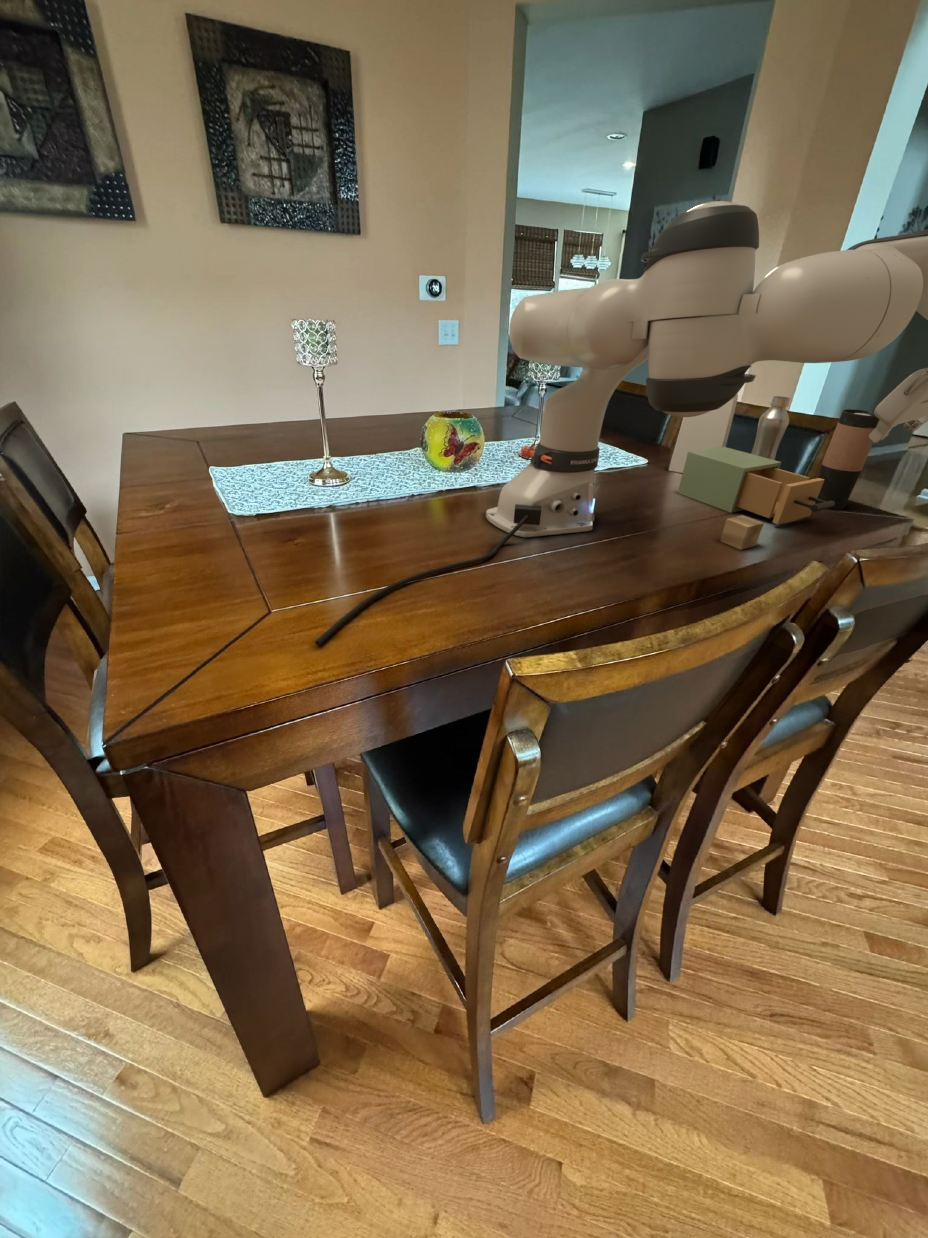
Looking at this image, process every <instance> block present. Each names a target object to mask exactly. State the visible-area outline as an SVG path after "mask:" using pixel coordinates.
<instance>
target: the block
mask: <svg viewBox="0 0 928 1238" xmlns="http://www.w3.org/2000/svg"><path fill="white" fill-rule="evenodd" d="M763 527H764V523H763V522H762V521H759V520H756V519H754V518H751V517H749V516H745V515H743V514H741V515H738V516H733V517H729V518H726V521H725V524H724V527H723V529H722V533H721V537H720V539H719V542H721V543H723V544H726V545H728V546H730V547H733V548H735V549H737V550H739V551H742V550H744V549H749V548H753V547H756V546H757V543H758V542H759V541H758V540H759V537H760V535H761V532H762V529H763Z"/></svg>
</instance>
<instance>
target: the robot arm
mask: <svg viewBox="0 0 928 1238" xmlns="http://www.w3.org/2000/svg"><path fill="white" fill-rule="evenodd" d="M759 248H760V227H759V220H758V214H757V213H756V212H755V211H754V210H753V209H751V208H750V206H747V205H745V204H744V205H743V204H738V203H735V202H731V201H727V200H715V201H708V202H705V203H702V204H699V205H696V206H694V207H693V208H690V209H689V210H687V211H685V212H683V213H680V214H678V215H677V216H675V217H674V218H673V219H672V220H671V221H670V222H669V223H668V224H667V226H666V227H665V228H664V229H663V230H662V231H661V232H660V233H659V234H658V236H657V238H656V240H655V242H654V244H653V245H652V248H651V250H650V251H646V252H644V253H643V254H642V256H641V258H640V262H642V263H645V264H646V265H645V267H644V269H643V272H644V273H643V274H642V275H641V276H640V277H639V278H631V279H628V278H627V279H626V278H611V279H606V280H603V281H600V282H598V283H596V284H593V285H591V286H590V287H581V288H569V289H565V290H557V291H552V292H546V293H540V294H534V295H529V296H524V297H523V298H522V299H521V300H520V301H519V302H518V303H517V304H516V307H515V308H514V310H513V312H512V314H511V317H510V321H509V327H508V333H509V336H508V337H509V341H510V345H511V347H512V350H513V352H514V353H515V354H516V356H517V357H518V358H519V359H521V360H524V361H528V362H531V363H536V364H541V365H544V366H545V365H546V366H555V367H570V368H582V369H581V371H580V374H579V375H578V377H577V379H576V380H574V381H573V382H571V383H569V384H567V385H565V386H562V387H561V388H558V389H557V390H555V391H554V392H552V393H551V394H550V395H549V396H548V397H547V399H546V400H545V402H544V405H543V411H542V419H541V428H540V429H541V430H540V437H539V441H538V442H537V444H536V447H535V448H533V447H530V446H529V445H523V446H522V448H521V450H520V452H521V453H520V454H521V456H522V457H525V458H527V459H530V463H529V464H528V465H527V466H525V467H524V468H523V469H522V470H521V471H520V472H518V473H517V475H515V476H514V477H513V478H512V479H510V480H509V481H508V482H506V484H505V485H503V486H502V487H501V491H500V494H499V497H498V501H497V506H495V507H492V508H488V509H486V512H485V519H487V521H488V522H489V523H491V524H492V525H493V526H495V527H497V528H498V529H500V530H502V531H503V532H506V533H507V534H506V535H505V536H504V537H503V538H502V539H501V540H500V541H499V542H498V543H497V545H496V546H494V548H493V549H492V550H491V551H489V553H487V554H485V555H482V556H479V557H476V558H472V559H468V560H463V561H458V562H454V563H450V564H447V565H443V566H439V567H436V568H432V569H429V570H425V571H422V572H418V573H416V574H413V575H410V576H408V577H405V578H403V579H401V580H398V581H395V582H394V583H392V584H390V585H387V586H385V587H383V588H381V589H380V590H378V591H376V592H374V593H373V594H372V595H370V596H368V597H367V598H365V599H364V600H362V601H361V602H360V603H359V604H357V605H356V606H355V607H353V609H351V610H349V612H347V613H346V614H345V615H343V616H342V617H341V618H339V620H338V621H336V622H335V623H334V624H333V625H332V626H331V627H330V628H329V629H327V630H326V631H325V632H324V633H323V634H322V635H320V636H319V638H317V639H316V640H315V642H314V643H315V645H316V646H321V645H322V644H323V643H324V642H326V640H327V639H329V638H330V637H331V636H332V635H333V634H334V633H335V632H336V631H337V630H339V629H340V628H341V627H342V626H343V625H344V624H345V623H347V622H348V621H349V620H350V619H351V618H353V616H355V615H356V614H357V613H359V612H360V611H361V610H362V609H364V608H366V606H367V605H369V604H371V602H373V601H375V600H376V599H378V598H379V597H381V596H383V595H385V594H386V593H388V592H390V591H392V590H394V589H397V588H398V587H401V586H403V585H405V584H407V583H410V582H413V581H415V580H418V579H421V578H424V577H427V576H430V575H434V574H438V573H441V572H442V573H443V572H445V571H449V570H452V569H455V568H460V567H465V566H469V565H474V564H477V563H481V562H483V561H487V560H488V559H490V558H492V557H493V556H494V555H496V554H497V552H498V551H499V550H500V548H502V546H504V544H506V543H507V542H508V540H509V539H511V537H512V536H517V537H521V538H533V537H543V536H553V535H563V534H570V533H571V534H572V533H573V534H574V533H582V532H591V531H592V530H593V527H594V523H593V522H594V521H595V518H596V517H595V512H594V511H595V510H594V508H595V503H596V502H595V501H596V498H594V489H595V487H594V486H595V471H596V470H595V469H596V468H597V467H598V463H599V459H600V451H601V450H600V447H599V442H600V438H601V437H600V436H601V431H602V427H603V422H604V418H605V414H606V410H607V408H608V405H609V401H610V399H611V397H612V396H613V394H614V392H615V390H616V389H617V387H618V386H619V385H620V384H621V383H622V381H623V380H624V379H625V378H626V377H627V376H628V375H629V374H630V373H631V372H632V371H634V370H635V369H636V368H638V367H640V366H641V365H642V364H643V363H645V362H646V361H647V369H648V376H647V377H646V378H645V385H646V395H647V400H648V404H649V405H650V406H651V407H652V408H653V409H654V410H655V411H657V412H662V413H664V414H666V415H669V416H672V417H675V418H676V417H677V418H683V417H694V416H698V415H702V414H705V413H707V412H710V411H712V410H717V409H719V408H720V407H722V406H723V405H725V404H726V403H727V402H729V401H730V400H731V399H732V398H734V397H735V396H736V394H738V393H739V392H740V391H741V389H742V388H743V387H744V385H745V384H747V383H748V384H749V383H753V382H754V381H755V379H756V377H757V375H756V374H751V373H747V372H748V370H749V369H750V368H751V367H752V365H753V364H755V363H758V362H762V361H763V362H764V361H777V362H778V361H779V362H789V363H801V364H826V363H840V362H842V363H843V362H850V361H855V360H860V359H863V358H866V357H869V356H871V355H873V354H875V353H877V352H879V351H881V350H883V349H885V348H886V347H887V346H889V345H891V343H892V342H893V341H894V340H896V339H897V338H898V337H899V336H900V335H901V334H902V332H903V331H904V330H905V329H906V328H907V326H908V325H909V324H910V322H911V321H912V319H913V317H914V315H915V313H916V312H917V313H918V314H920V315H921V316H922V317H923V318H924V319H925V320H927V321H928V228H926V229H923V230H919V231H915V232H911V233H910V232H909V233H903V234H896V235H890V236H883V237H878V238H873V239H868V240H864V241H861V242H858V243H856V244H853V245H851V246H850V247H848V248H847V249H844V250H843V249H842V250H835V251H827V252H820V253H816V254H812V255H807V256H804V257H800V258H797V259H794V260H791V261H788V262H785V263H783V264H781V265H778V266H777V267H775V268H774V269H773V270H771V271H770V272H768V273H767V274H766V275H765V276H764V277H763V278H762V279H761V281H760V282H759V283H758V284H757V285H756V287H754V286H755V273H756V251H757V250H758V249H759ZM873 415H875V416H876V417H877V418H878V419H879V422H878V424H877V426H876V428H875V429H874V430H873V431H872V432H871V433H870V434H869V438H870V439H871V440H872V441H873V443H879V442H881V441H884V440H885V439H886V438H887V437H888V436H889V435H890V431H891V430H893V428H895V427H897V426H898V425H900V424H901V425H902V424H903V429H904V430H905V431H906V432H908V433H912V432H916V431H918V430H919V429H920V428H921V427H922V426H923V425H924V424H926V423H928V367H925V368H920V369H919V370H916V371H915V372H913V373H911V374H910V375H909V376H907V377H906V378H905V379H904V380H902V381H901V382H900V383H899V384H898V385H896V387H895V388H894V389H893V390H891V392H890V393H889V394H887V396H886V397H884V399H882V400H881V401H880V402H879V403H878V405H876V407H875V409H874V412H873Z"/></svg>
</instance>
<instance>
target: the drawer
mask: <svg viewBox="0 0 928 1238" xmlns="http://www.w3.org/2000/svg"><path fill="white" fill-rule="evenodd" d="M823 482H824V479H821V478H817V477H816V478H813V479H811V477H809V476H806V475H802V474H799V473H795V472H791V471H788V470H785V469H781V468H779V469H778V468H774V467H771V468H765V469H759V470H754V471H748V472H746V473H745V476H744V480H743V483H742V486H741V489H740V492H739V496H738V499H737V502H736V505H735V506H736V507H739V508H742V509H744V510H743V511H748V512H749V513H753V514H755V515H758V516H762V517H764V518H767V519H772V518H773V519H772V523H773V524H776V525H780V524H785V523H788V522H792V521H796V520H797V521H798V520H800V519H805V518H808V517H811V516H812V513H816V512H820V511H824V510H829V509H828V508H832V507H834V505H835V502H834V501H824V500H821V499H817V498H818V495H819V493H820V490H821V487H822V485H823ZM816 502H818V504H815V503H816Z"/></svg>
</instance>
